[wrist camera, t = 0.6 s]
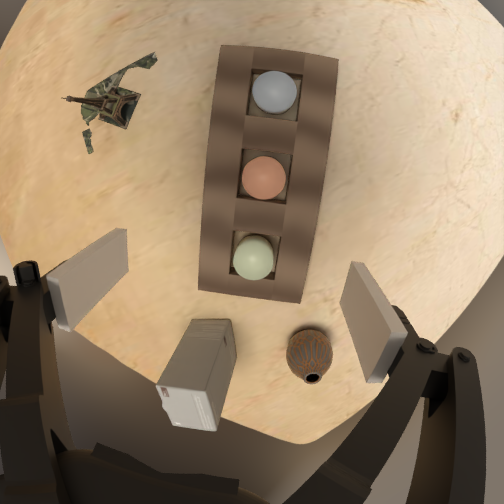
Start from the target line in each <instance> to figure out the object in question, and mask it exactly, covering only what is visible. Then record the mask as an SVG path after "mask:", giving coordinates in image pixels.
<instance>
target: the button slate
mask: <svg viewBox="0 0 504 504" xmlns="http://www.w3.org/2000/svg"><path fill="white" fill-rule="evenodd" d="M252 93H253V97H254V100H255V102H256V104H257V106H258V107H259V108H260V109H261V110H262V111H264V112H266V113H269V114H281V113H284V112H286V111H287V110H288V109H290V108H291V106H292V105H293V103H294V101H295V98H296V95H297V88H296V85H295V83H294V81H293V79H292V78H291V77H290V76H288V75H287V74H285V73H283V72H279V71H269V72H265V73H263V74H261V75H260V76H259V77H258V78H257V79H256V80H255V82H254V84H253V88H252Z"/></svg>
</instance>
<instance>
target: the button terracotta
mask: <svg viewBox="0 0 504 504" xmlns="http://www.w3.org/2000/svg"><path fill="white" fill-rule="evenodd" d="M285 181H286V175H285V171H284V169H283V167H282V165H281V164H280V163H279V162H278V161H277V160H276V159H274V158H272V157H269V156H260V157H257V158H255V159H253V160H251V161H250V162H249V163H248V164H247V165H246V166H245V168H244V170H243V173H242V183H243V186H244V188H245V190H246V191H247V192H248V193H249V194H250V195H251V196H253V197H255V198H257V199H263V200H264V199H271V198H273V197H275V196H277V195H278V194H279V193H280V192H281V191H282V189H283V187H284V185H285Z"/></svg>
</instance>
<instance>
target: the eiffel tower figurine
mask: <svg viewBox="0 0 504 504" xmlns="http://www.w3.org/2000/svg"><path fill="white" fill-rule="evenodd" d="M156 61H157V57H156V55H155V52H153V53H151V54H149V55H147V56H145V57H143V58H142V59H140V60H138V61H136V62H134V63H132V64H130V65H129V66H127V67H125V68H123V69H121V70H120V71H118V72H116V73H115V74H113V75H111V76H110V77H108V78H106V79H105V80H103V81H102V82H100V83H98V84H97V85H95V86H94V87H92V88H91V89H89V90H88V91H87V93H86V95H85V98H76V97H71V96H67V98H63V99H66V101H69V102H71V101H74V102H79V103H82V105H81V114H82V116H83V120H85V121H86V124H87V125H88V126H89V122H90V121H91V120H93V119H94V118H95V117H96V116H97V115H98V113H100V116H99V120H102V121H105V122H107V123H110V124H113V125H116V126H118V127H121V128H124V129H127V126H128V124H129V121H130V119H131V116H132V114H133V112H134V109H135V107H136V105H137V102H138V100H139V98H140V96H141V94H139V93H136V92H133V91H130V90H127V89H124V88H120V87H118V86H119V83H120V81H121V79H122V77H123V75H124V74H125V72H126V71H127V70H128V69H129V68H134V67H142V68H146V69H150V67H152V66H153V65H154V64H155V63H156ZM82 133H83V137H84V140H85V144H86V147H87V151H88V154H90V153H92V152H94V151H93V148H92V145H91V139H90V137H91V134H92V132H91V131H90V129H87V130H85V131H83V132H82Z"/></svg>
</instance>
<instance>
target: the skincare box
mask: <svg viewBox="0 0 504 504" xmlns="http://www.w3.org/2000/svg"><path fill="white" fill-rule="evenodd" d="M235 362H236V350H235V342H234V336H233V331H232V326H231V321H230V320H229V319H222V320H210V319H193V320H192V321H191V323H190V325H189V326H188V328H187V330H186V332H185V333H184V335H183V337H182V339H181V341H180V343H179V344H178V346H177V348H176V350H175V352H174V353H173V355H172V357H171V359H170V361H169V362H168V364H167V366H166V368H165V370H164V371H163V373H162V375H161V377H160V379H159V380H158V382H157V384H156V387H157V390H158V392H159V395H160V397H161V399H162V401H163V404H162V406H163V408H164V410H165V411H167V413H168V416H169V418H170V420H171V422H172V424H173V425H174V426H180V427H187V428H193V429H200V430H207V431H216V430H217V427H218V423H219V420H220V416H221V413H222V409H223V405H224V402H225V398H226V395H227V391H228V387H229V384H230V380H231V377H232V373H233V369H234V366H235Z"/></svg>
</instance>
